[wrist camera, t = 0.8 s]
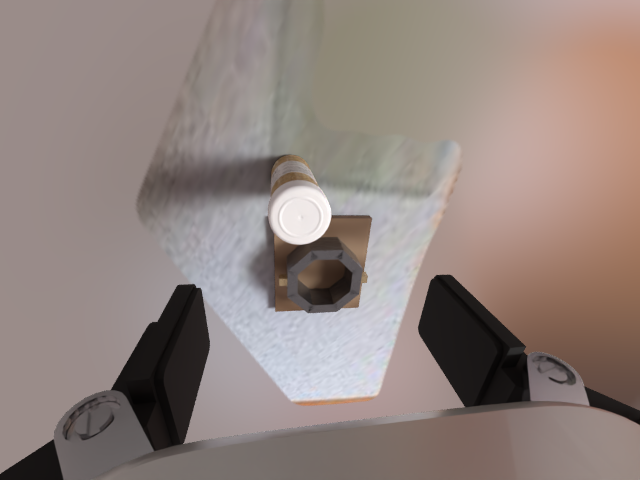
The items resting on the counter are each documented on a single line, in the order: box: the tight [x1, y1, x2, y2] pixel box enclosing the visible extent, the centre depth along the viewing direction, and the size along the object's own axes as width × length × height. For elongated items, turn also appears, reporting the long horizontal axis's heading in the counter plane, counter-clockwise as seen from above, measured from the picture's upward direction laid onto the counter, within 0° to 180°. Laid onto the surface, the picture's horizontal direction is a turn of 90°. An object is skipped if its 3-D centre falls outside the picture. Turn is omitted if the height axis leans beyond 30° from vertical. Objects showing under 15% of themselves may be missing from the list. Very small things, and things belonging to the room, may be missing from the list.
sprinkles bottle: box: [268, 155, 331, 245], centre depth 25 cm, size 5×5×13 cm
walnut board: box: [274, 216, 372, 312], centre depth 37 cm, size 14×12×1 cm
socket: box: [279, 237, 368, 313], centre depth 35 cm, size 9×11×4 cm
